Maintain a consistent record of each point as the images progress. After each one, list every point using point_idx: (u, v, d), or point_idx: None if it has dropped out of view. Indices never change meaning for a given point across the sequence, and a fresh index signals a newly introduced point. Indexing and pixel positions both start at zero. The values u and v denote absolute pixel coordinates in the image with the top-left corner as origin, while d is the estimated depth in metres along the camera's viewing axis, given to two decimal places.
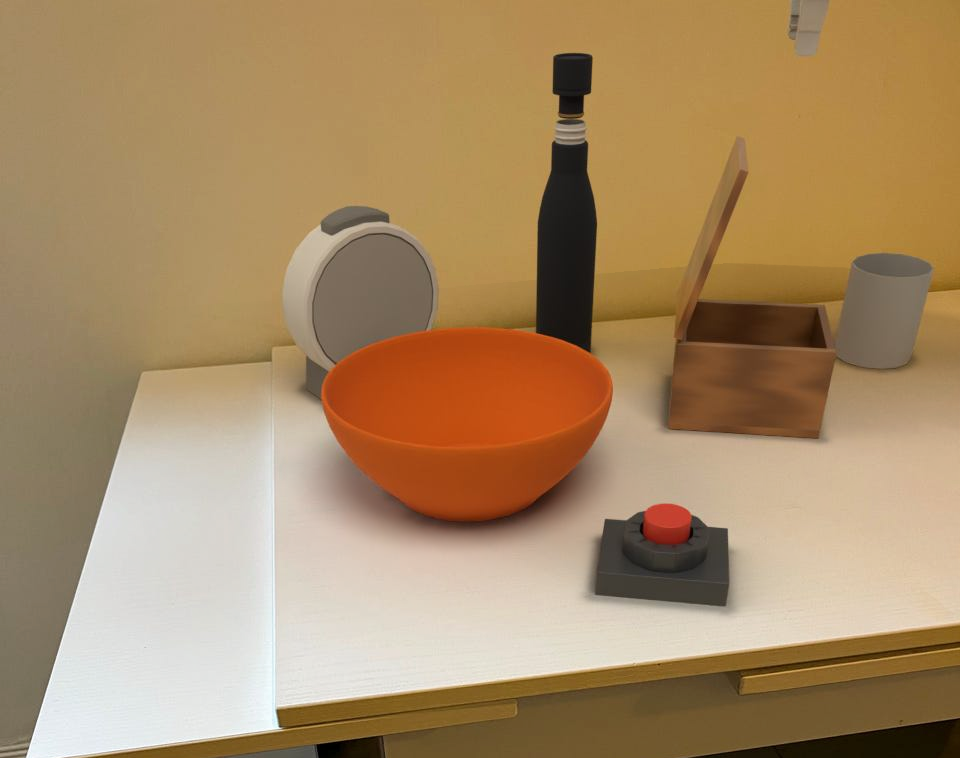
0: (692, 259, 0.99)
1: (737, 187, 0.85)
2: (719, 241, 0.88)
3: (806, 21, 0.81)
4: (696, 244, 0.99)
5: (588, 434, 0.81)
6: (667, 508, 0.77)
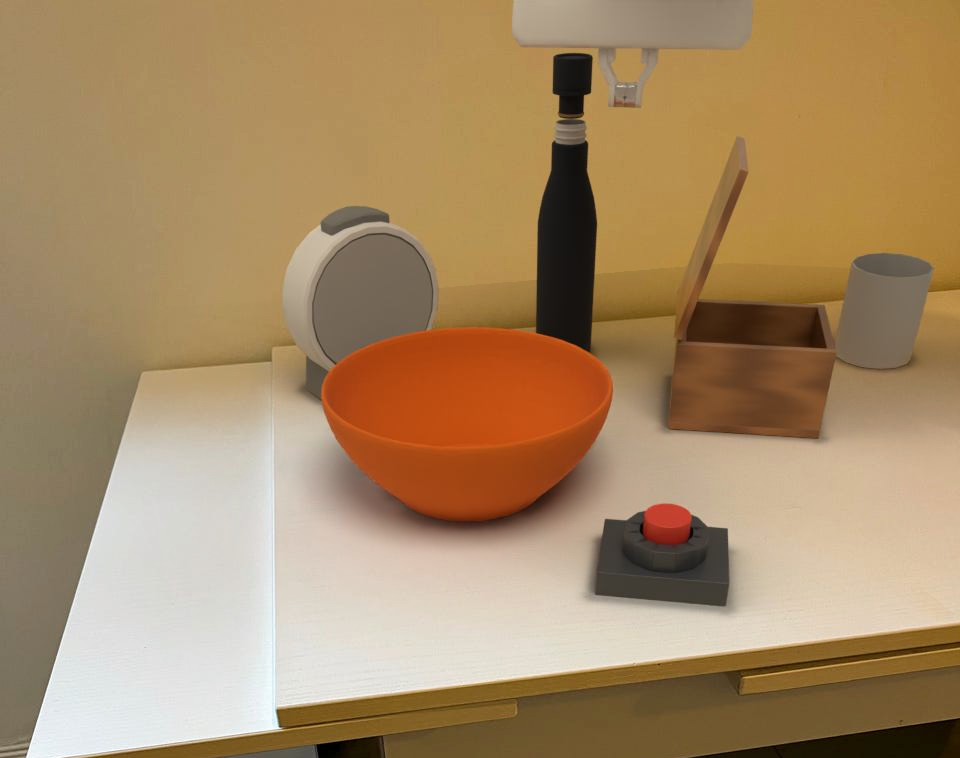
0: (692, 259, 0.99)
1: (737, 187, 0.85)
2: (719, 241, 0.88)
3: None
4: (696, 244, 0.99)
5: (588, 434, 0.81)
6: (667, 508, 0.77)
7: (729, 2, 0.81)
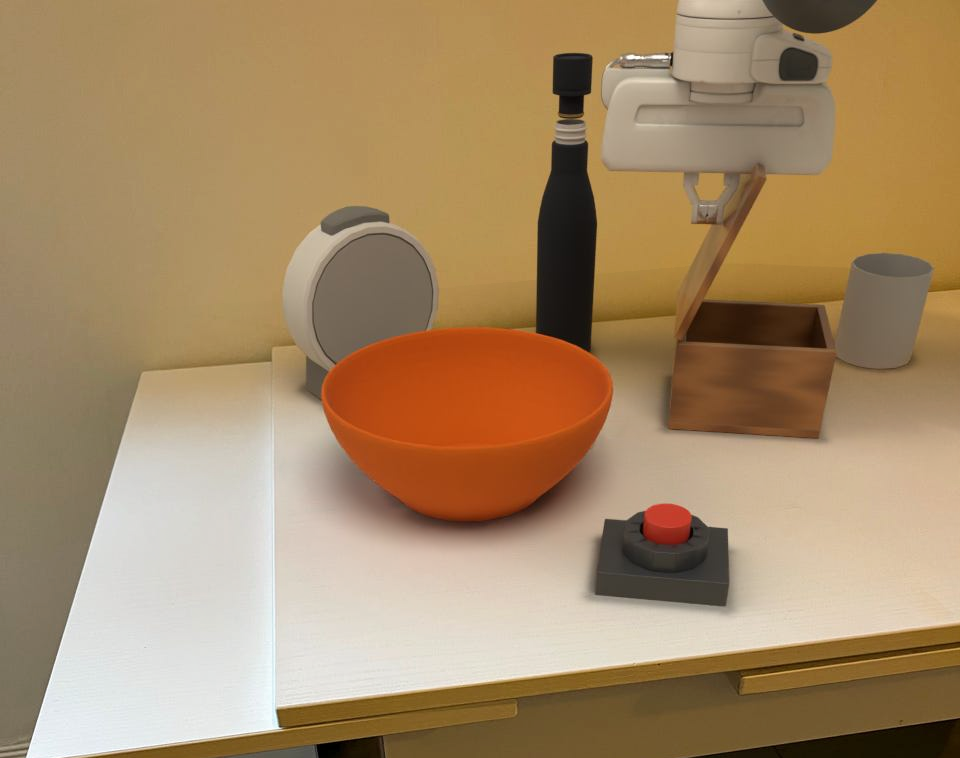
0: (697, 260, 0.99)
1: (753, 193, 0.85)
2: (730, 245, 0.88)
3: None
4: (702, 246, 0.99)
5: (589, 434, 0.81)
6: (667, 508, 0.77)
7: (810, 134, 0.85)
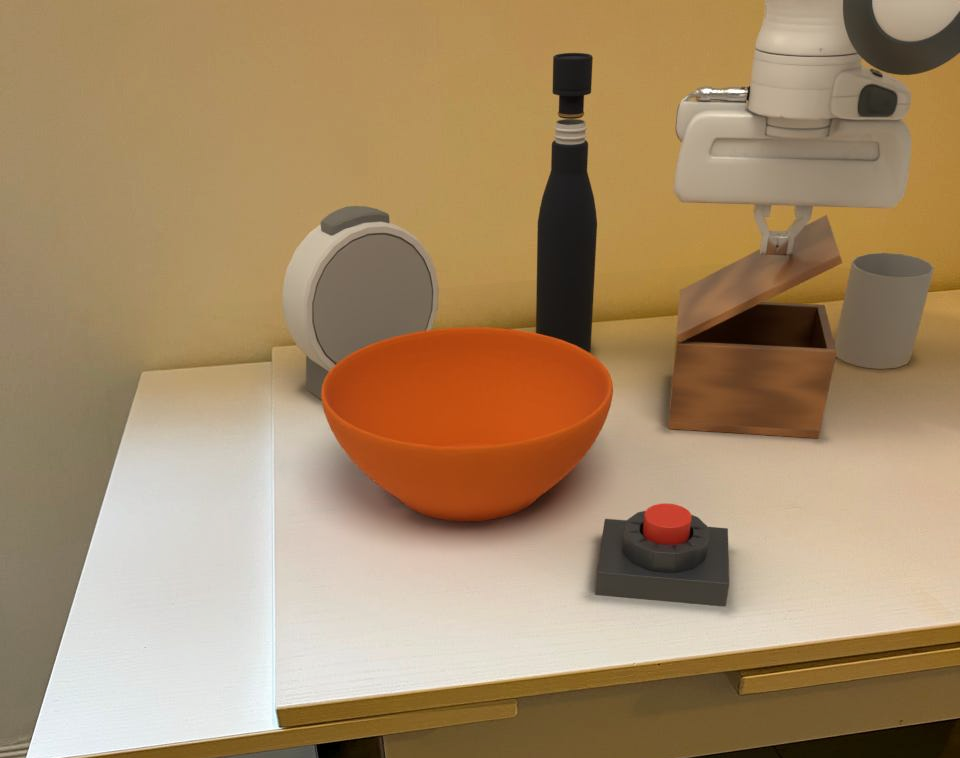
0: (718, 278, 0.99)
1: (824, 266, 0.88)
2: (775, 294, 0.90)
3: None
4: (728, 268, 1.00)
5: (589, 434, 0.81)
6: (667, 508, 0.77)
7: (885, 168, 0.86)
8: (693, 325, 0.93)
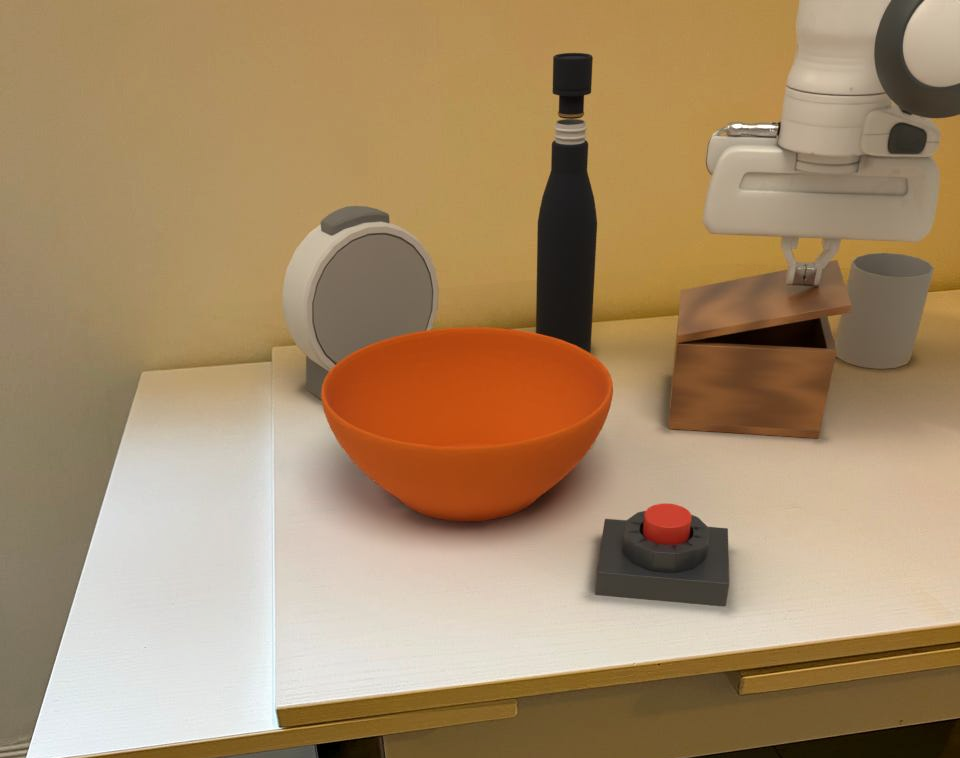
0: (723, 290, 1.00)
1: (834, 310, 0.90)
2: (781, 323, 0.91)
3: None
4: (733, 282, 1.01)
5: (589, 434, 0.81)
6: (667, 508, 0.77)
7: (913, 203, 0.87)
8: (696, 330, 0.93)
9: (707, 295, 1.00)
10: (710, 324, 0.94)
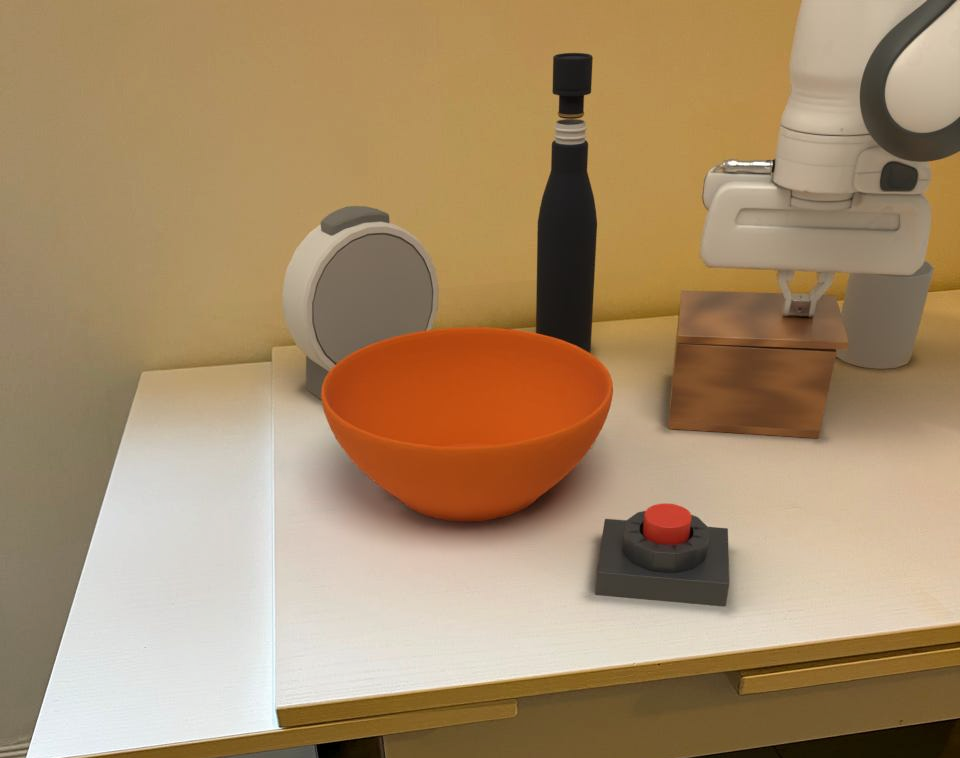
0: (724, 299, 1.01)
1: (832, 344, 0.92)
2: (780, 346, 0.93)
3: None
4: (734, 294, 1.02)
5: (589, 434, 0.81)
6: (667, 508, 0.77)
7: (906, 238, 0.89)
8: (697, 334, 0.94)
9: (708, 301, 1.00)
10: (711, 331, 0.94)
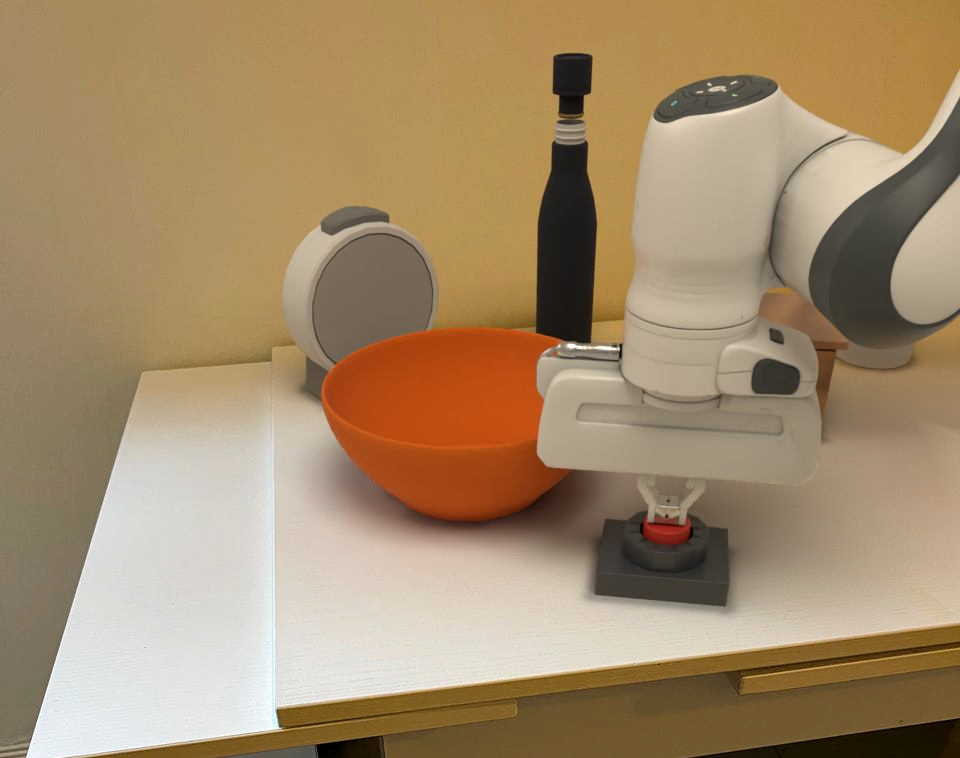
0: None
1: (832, 345, 0.92)
2: None
3: None
4: None
5: None
6: None
7: (791, 444, 0.69)
8: None
9: None
10: None
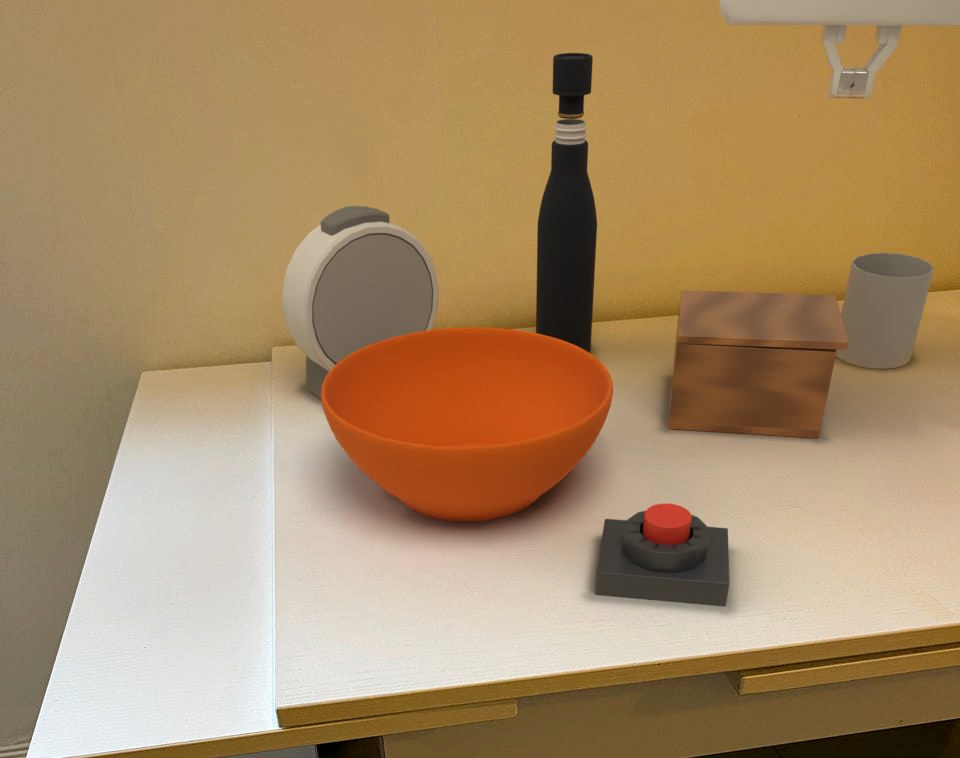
0: (724, 299, 1.01)
1: (832, 345, 0.92)
2: (780, 346, 0.93)
3: (826, 55, 0.72)
4: (734, 294, 1.02)
5: (588, 434, 0.81)
6: (667, 508, 0.77)
7: None
8: (697, 334, 0.94)
9: (708, 301, 1.00)
10: (711, 331, 0.94)
